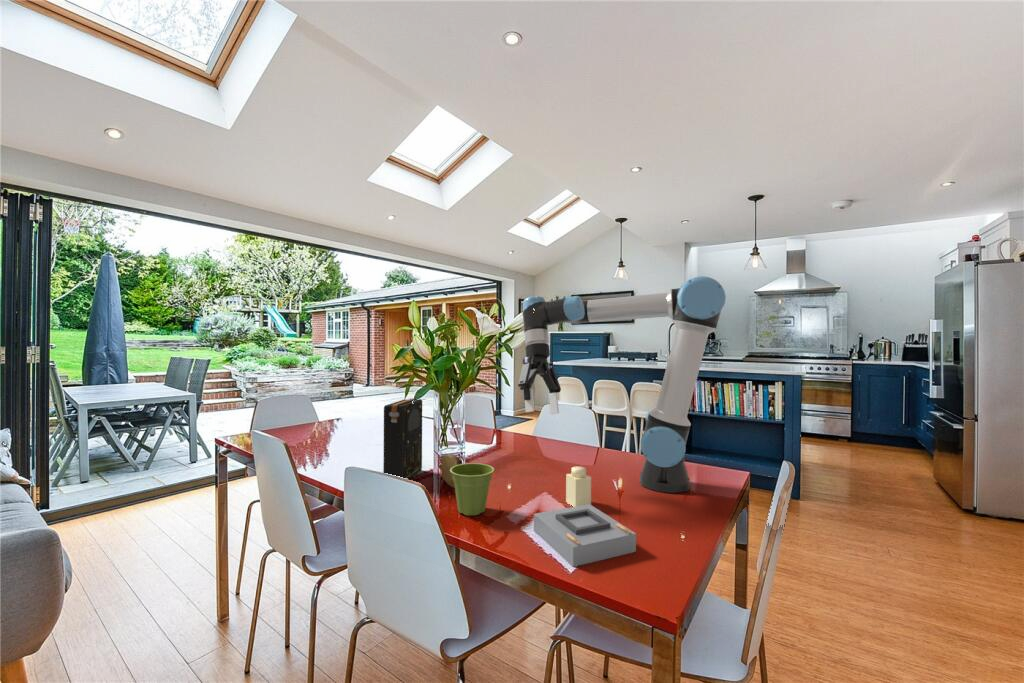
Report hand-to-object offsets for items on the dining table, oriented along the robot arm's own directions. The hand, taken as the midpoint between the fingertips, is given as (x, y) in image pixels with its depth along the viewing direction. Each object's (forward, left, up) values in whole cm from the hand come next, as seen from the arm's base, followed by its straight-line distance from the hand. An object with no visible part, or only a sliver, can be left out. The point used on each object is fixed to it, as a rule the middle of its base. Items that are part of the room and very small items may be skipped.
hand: (542, 412), depth 131 cm
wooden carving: (+23, -14, -24) cm, 36 cm away
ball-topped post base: (+6, +32, -24) cm, 40 cm away
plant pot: (+24, +6, -24) cm, 35 cm away
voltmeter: (+36, -30, -24) cm, 53 cm away
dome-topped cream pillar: (-5, +13, -24) cm, 28 cm away
